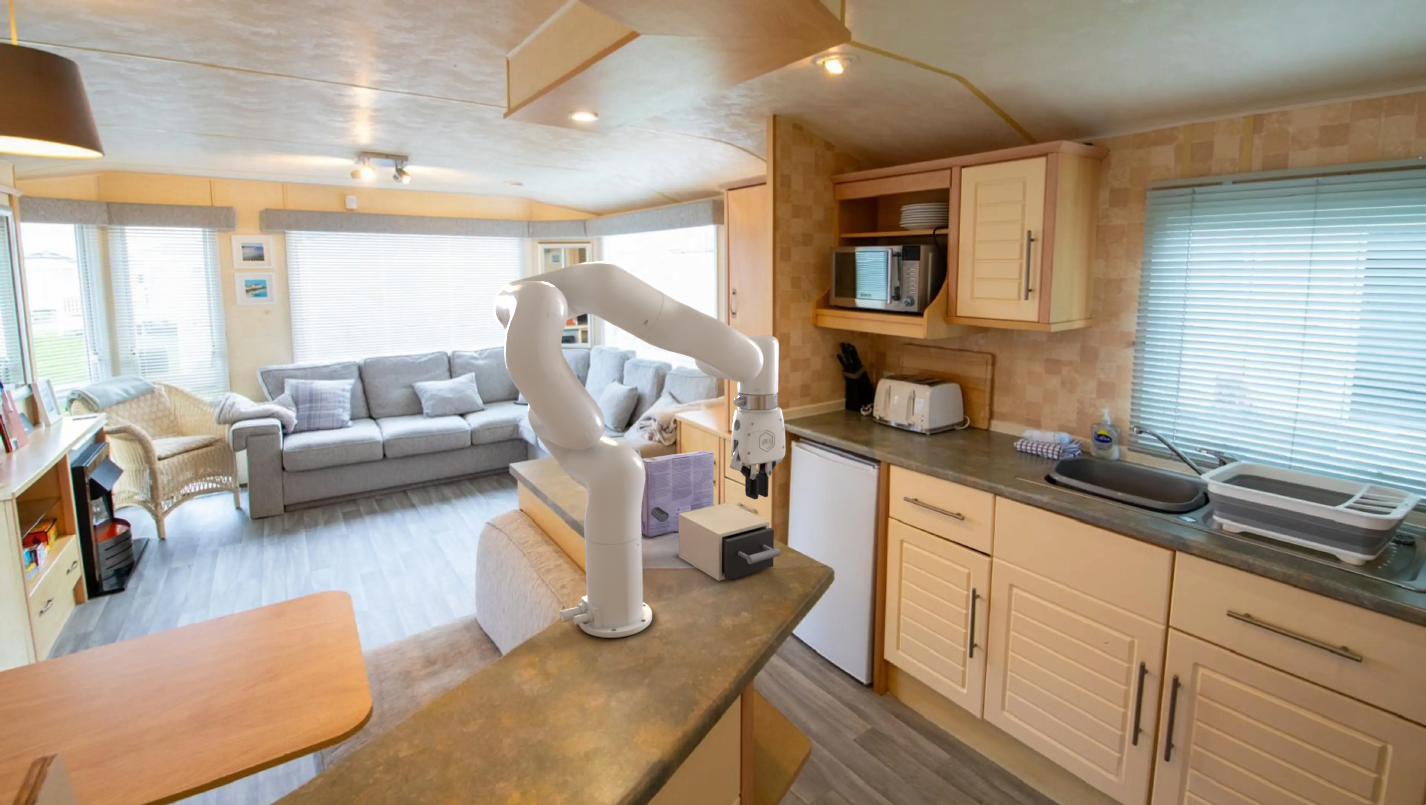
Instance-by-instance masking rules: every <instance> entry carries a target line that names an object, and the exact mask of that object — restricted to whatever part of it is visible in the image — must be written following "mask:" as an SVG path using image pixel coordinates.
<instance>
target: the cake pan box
mask: <svg viewBox="0 0 1426 805" xmlns="http://www.w3.org/2000/svg"><path fill="white" fill-rule="evenodd" d="M642 461H643V464H644V467H645V486H644V492H643V498H642V508H641V532H642V534H643V535H645V536H646V537H647V538H652V537H656V536H661V535H666V534H670V533H677V532H679V513H683V512H688V511H692V510H697V509H701V508H706V507H710V506H714V504H715V503H714V498H715V496H714V478H715V477H714V476H715V475H714V474H715V472H714V470H715V467H714V466H715V465H714V464H715V454H714V452H713V451H708V450H698V451H692V452H691V451H690V452H684V453H675V454H674V453H673V454H668V455H660V456H653V457H646V458H642Z"/></svg>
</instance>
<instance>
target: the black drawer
mask: <svg viewBox="0 0 1426 805" xmlns="http://www.w3.org/2000/svg"><path fill="white" fill-rule="evenodd" d="M774 544H775V529H774V528H772V527H769V528H768V529H764V530H763V527H759V528H756V529H752V530H748V531H744V532H740V533H736V534H732V535H729V536H725V537H722V573H724V578H726V579H725V580H732V579H735V578H738V577H742V576H745V575H748V574H749V575H750V574H752V573H755V572H758V571H762V570H765V569H769V568H771V567H774V558H777V557H779V556H780V555H781V550H780V548H779V547H775V545H774Z"/></svg>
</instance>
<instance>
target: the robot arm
mask: <svg viewBox="0 0 1426 805" xmlns="http://www.w3.org/2000/svg"><path fill="white" fill-rule="evenodd" d="M492 306H493V314H494V317H495V319H496V321H497V323H498V324H499V325H500V326H501V327H502V328H503V329H504V330H505V338H504V350H503V351H504V364H505V367H506V370H507V373H508V376H509V377H510V379H511V382H512V383H513V384H514V387H515V388H516V389H517V390H518V392H519V393H520V395H521V396H522V397H523V399H524V400H525V402H526V403H527V405H528V406H527V419H528V422H529V425H530V427H531V429H532V431H533V433H534V434H535V435H536V437H537V438H538V439H539V441H540V442H541V443H542V444H543V446H544V447H545V448H546V449H547V451H548V453H550V455H551V456H552V457H553V458H554V460H555V461H556V462H557V464H558V465H560V467H561V468H562V470H563V471H564V472H565V473H566V474H567V476H568V477H569V478H571V479H572V480H573V481H575V482H576V483H577V484H579V485H580V486H582V487H584V488H585V490H586V491H587V499H586V500H587V501H586V505H585V510H584V517H583V518H584V519H583V532H584V554H585V557H584V558H585V578H586V579H585V585H586V586H585V587H586V595H583V596H581V598H580V602H581V603H578V604H576V606H575V607H569V608H566V609H563V610H560V611H559V619H560V621H561V623H566V622H570V621H572V623H573V624H574V625H575V626H576V625H578V626H579V628H580V629H581V630H582V631H583V632H584V633H586V634H588V635H591V636H594V637H597V638H608V639H612V638H613V639H615V638H624V637H627V636H632V635H635V634H638V633H639V632H642V631H643V630H645V629H646V628H647V627H648V626H649V625H651V623H652V621H653V610H652V608H651V607H650V606H649V604H647V603H645V602H644V585H643V583H644V581H643V580H644V579H643V578H644V577H643V536H642V534H643V533H642V532H641V508H642V498H643V492H644V486H645V467H644V464H643V461H642V459H643V458H642V456H641V457H640V456H639V455H638V453H637V452H636V451H635V449H633V447H631V446H630V445H628V444H626V443H624V442H622V441H620V440H617V439H616V438H612V437H610V436H608V435H606V434H605V433H604V432H605V427H606V424H605V416H604V414H603V411H602V409H601V407H600V405H599V404H598V403H597V402H596V400H595V399H594V397H593V396H592V395H591V394H590V392H589V391H588V390H587V389H586V387H585V386H584V385H583V383H582V381H580V379H579V378H578V376H577V374H575V372H574V371H573V369H572V368H571V366H570V364H569V362H568V360H567V359H566V357H565V355H564V352H563V347H562V343H563V342H562V339H563V335H564V330H565V328H566V324H567V322H568V320H571V319H574V318H576V317H580V316H583V315H594V316H596V317H598V318H600V319H601V320H603V321H605V322H607V323H609V324H611V325H613V326H614V327H618V328H619V329H621V330H623V331H625V332H626V333H628V334H630V335H632V336H633V337H636V338H638V339H639V340H641V341H643V342H645V343H647V344H649V345H651V346H653V347H656V348H659V349H661V350H664V351H667V352H671V353H675V354H679V355H684V356H686V357H689V358H691V359H694V360H693V361H694V363H695V366H696V367H697V369H699V371H701V373H703V374H705V375H708V376H709V377H714V378H718V379H724V380H729V381H733V382H737V397H736V398H734V399H733V405H734V406H737V409H735V410H734V415H733V420H732V426H731V438H730V456H731V460H730V463H729V468H730V469H732V470H735V471H738V472H740V473H741V476H743V477H745V478H744V480H745V481H744V491H745V497H748V498H750V499H752V500H758V499H759V496H761V497H763V498H768V497H769V481H770V480H769V479H770V478H769V477H771V476H772V474H773V470H774V468H776V465H778V464H779V463H781V462H782V461H783V460H784V457H785V456H786V428H785V420H784V415H783V410H782V408H781V407H779V373H780V372H779V371H780V370H779V368H780V367H779V365H780V364H779V363H780V343H779V340H778V339H777V337H776V336H773V335H768V334H750V335H749V334H748V335H746V334H745V333H743V332H741V331H739V330H737V329H736V328H735V327H732V326H731V325H729V324H727V323H725V322H723V321H722V320H720V319H717V318H715V317H713V316H711V315H709V314H706V313H704V312H702V311H699V310H697V309H696V308H693V307H691V306H689V305H688V304H685V303H683V302H680V301H678V300H676V299H674V298H672V297H671V296H669V295H668V294H665V293H664V292H662V291H660V290H658V289H657V288H655V287H653V286H652V285H650V284H649V283H647V282H644V280H642V279H640V278H639V277H637V276H635V275H634V274H632V273H630V272H628V271H626V270H624V269H623V268H621V267H619V265H616V264H614V263H611V262H608V261H587V262H580V263H576V264H575V263H574V264H572V265H568V266H565V267H562V268H558V269H555V270H550V271H547V272H543V273H540V274H536V275H532V276H528V277H525V278H521V279H517V280H514V281H510V282H508V283H507V284H505V285H503V286H502V287H501V288H500V289H499V290H498V292H497V293H496V295H495V297H494V300H493V305H492ZM641 458H642V459H641Z"/></svg>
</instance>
